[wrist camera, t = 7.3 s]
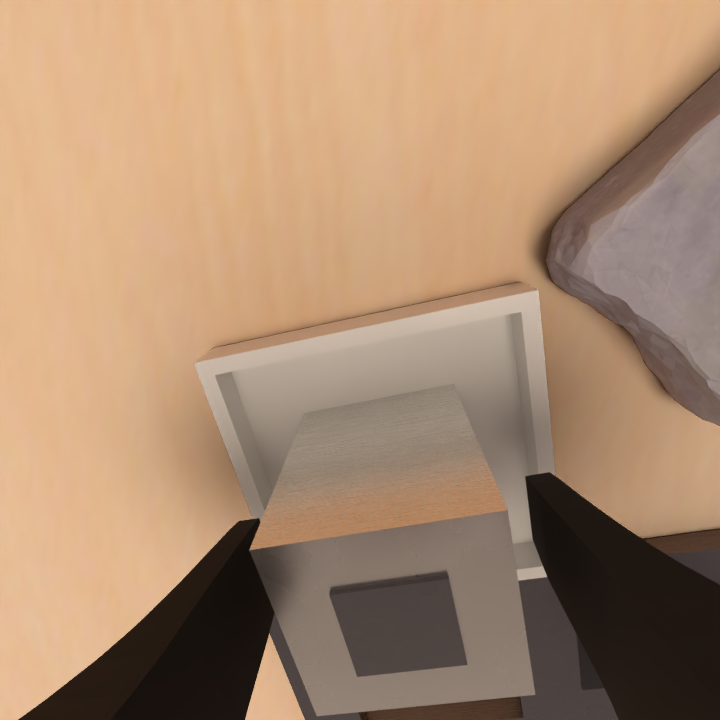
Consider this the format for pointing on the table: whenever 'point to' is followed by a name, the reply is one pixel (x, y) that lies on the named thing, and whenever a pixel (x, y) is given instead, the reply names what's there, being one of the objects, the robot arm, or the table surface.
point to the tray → (396, 388)
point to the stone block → (657, 250)
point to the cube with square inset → (394, 559)
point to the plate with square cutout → (533, 655)
